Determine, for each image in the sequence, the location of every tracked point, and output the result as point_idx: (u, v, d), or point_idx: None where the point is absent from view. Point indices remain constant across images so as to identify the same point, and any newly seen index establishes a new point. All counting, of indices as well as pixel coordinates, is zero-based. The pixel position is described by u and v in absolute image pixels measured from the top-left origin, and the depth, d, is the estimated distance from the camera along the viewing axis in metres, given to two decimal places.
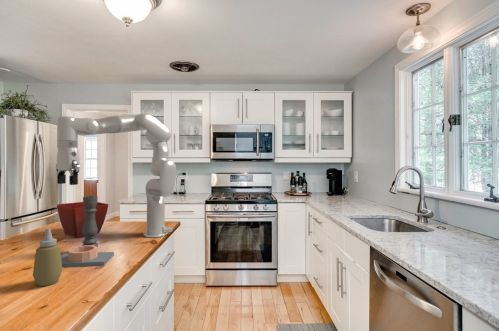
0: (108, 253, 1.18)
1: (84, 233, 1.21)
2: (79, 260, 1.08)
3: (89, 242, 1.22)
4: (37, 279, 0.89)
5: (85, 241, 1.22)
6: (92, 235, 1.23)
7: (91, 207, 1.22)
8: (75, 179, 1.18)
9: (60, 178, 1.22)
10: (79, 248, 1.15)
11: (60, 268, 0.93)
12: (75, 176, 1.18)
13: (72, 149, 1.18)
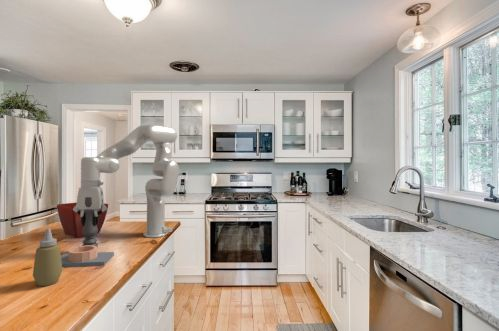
0: (108, 253, 1.18)
1: (84, 233, 1.21)
2: (79, 260, 1.08)
3: (89, 242, 1.22)
4: (37, 279, 0.89)
5: (85, 241, 1.22)
6: (92, 235, 1.23)
7: None
8: (98, 219, 1.25)
9: (84, 220, 1.23)
10: (79, 248, 1.15)
11: (60, 268, 0.93)
12: (98, 216, 1.25)
13: (100, 188, 1.24)
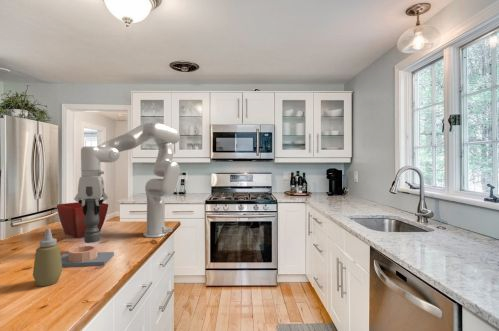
0: (108, 253, 1.18)
1: (86, 222, 1.22)
2: (79, 260, 1.08)
3: (91, 231, 1.22)
4: (37, 279, 0.89)
5: (87, 230, 1.22)
6: (94, 224, 1.23)
7: None
8: (99, 208, 1.25)
9: (86, 209, 1.24)
10: (79, 248, 1.15)
11: (60, 268, 0.93)
12: (99, 205, 1.25)
13: (101, 177, 1.24)
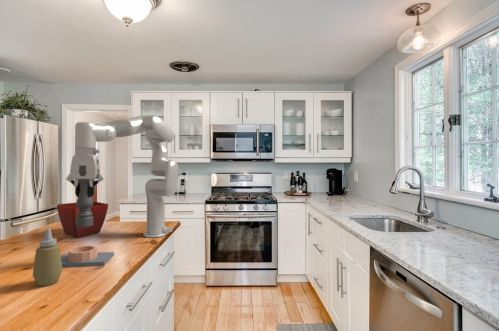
0: (108, 253, 1.18)
1: (78, 204, 1.11)
2: (79, 260, 1.08)
3: (84, 214, 1.12)
4: (37, 279, 0.89)
5: (79, 213, 1.12)
6: (87, 207, 1.13)
7: None
8: (93, 190, 1.15)
9: None
10: (79, 248, 1.15)
11: (60, 268, 0.93)
12: (93, 187, 1.15)
13: (96, 156, 1.14)
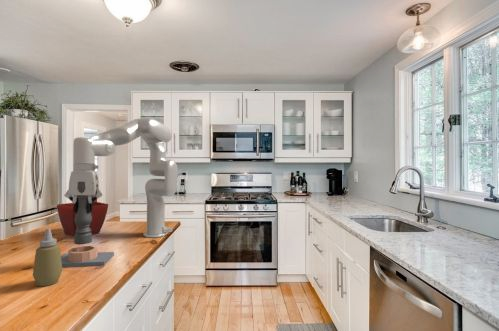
0: (108, 253, 1.18)
1: (77, 221, 1.10)
2: (79, 260, 1.08)
3: (82, 231, 1.10)
4: (37, 279, 0.89)
5: (78, 230, 1.10)
6: (86, 224, 1.11)
7: None
8: (92, 207, 1.13)
9: (77, 207, 1.11)
10: (79, 248, 1.15)
11: (60, 268, 0.93)
12: (92, 203, 1.13)
13: (95, 172, 1.13)
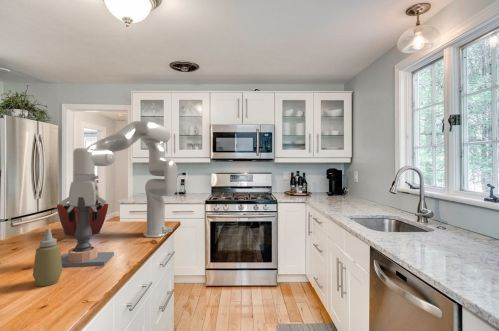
0: (108, 253, 1.18)
1: (77, 237, 1.10)
2: (79, 260, 1.08)
3: (82, 247, 1.10)
4: (37, 279, 0.89)
5: (78, 245, 1.10)
6: (86, 239, 1.11)
7: (84, 208, 1.11)
8: (97, 215, 1.14)
9: (72, 216, 1.11)
10: None
11: (60, 268, 0.93)
12: (97, 212, 1.14)
13: (94, 182, 1.13)
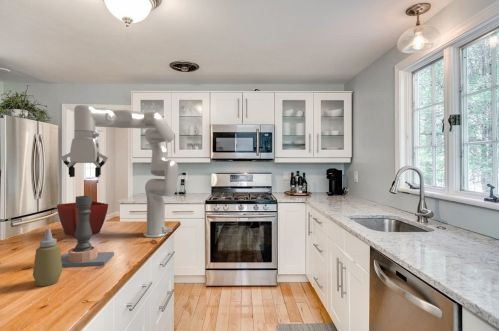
0: (108, 253, 1.18)
1: (77, 237, 1.10)
2: (79, 260, 1.08)
3: (82, 247, 1.10)
4: (37, 279, 0.89)
5: (78, 245, 1.10)
6: (86, 239, 1.11)
7: (84, 208, 1.11)
8: (100, 171, 1.16)
9: (72, 171, 1.13)
10: None
11: (60, 268, 0.93)
12: (100, 168, 1.16)
13: (95, 140, 1.15)
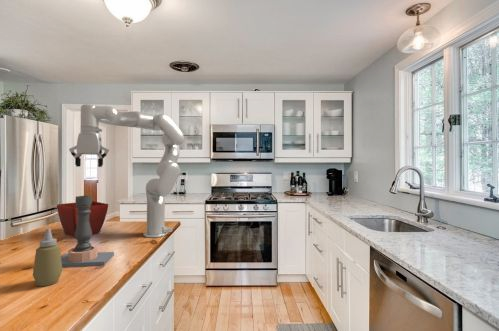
0: (108, 253, 1.18)
1: (77, 237, 1.10)
2: (79, 260, 1.08)
3: (82, 247, 1.10)
4: (37, 279, 0.89)
5: (78, 245, 1.10)
6: (86, 239, 1.11)
7: (84, 208, 1.11)
8: (102, 162, 1.33)
9: (78, 161, 1.31)
10: None
11: (60, 268, 0.93)
12: (102, 159, 1.33)
13: (98, 134, 1.32)
